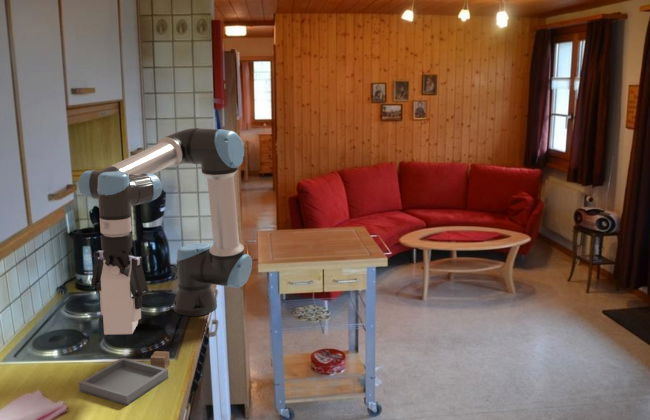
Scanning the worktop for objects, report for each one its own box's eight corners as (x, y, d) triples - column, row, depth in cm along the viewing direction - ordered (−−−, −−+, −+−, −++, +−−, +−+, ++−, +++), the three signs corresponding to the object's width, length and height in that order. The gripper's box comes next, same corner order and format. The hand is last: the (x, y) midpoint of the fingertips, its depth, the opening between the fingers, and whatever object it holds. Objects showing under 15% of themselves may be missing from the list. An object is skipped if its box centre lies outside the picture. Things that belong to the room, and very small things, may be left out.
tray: (123, 365, 173) (122, 357, 172) (168, 377, 166) (168, 369, 166) (79, 391, 158) (78, 382, 158) (127, 405, 152) (126, 396, 151)
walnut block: (155, 363, 174) (155, 351, 173) (169, 364, 174) (169, 351, 173) (151, 370, 170) (150, 357, 170) (165, 371, 170) (164, 358, 169)
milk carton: (111, 324, 162) (107, 255, 158) (138, 323, 163) (134, 255, 158) (104, 335, 155) (99, 264, 151) (132, 334, 156) (128, 263, 152)
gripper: (72, 231, 154) (78, 313, 159) (140, 242, 145) (144, 329, 150) (94, 225, 161) (99, 304, 166) (161, 235, 152) (164, 319, 157)
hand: (121, 316), depth 158 cm, fingers closed on milk carton, 10 cm apart
